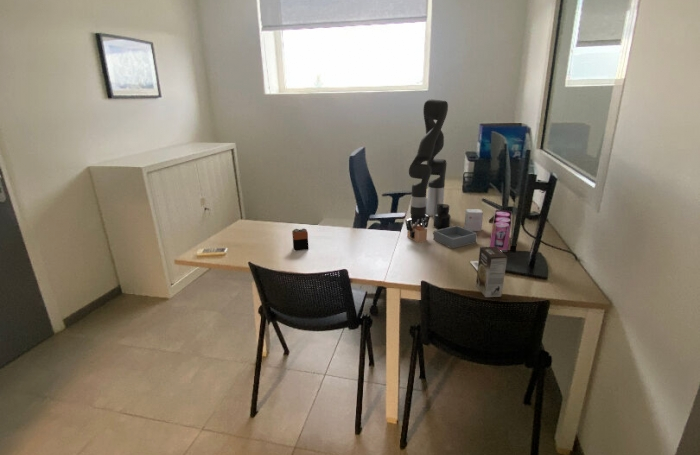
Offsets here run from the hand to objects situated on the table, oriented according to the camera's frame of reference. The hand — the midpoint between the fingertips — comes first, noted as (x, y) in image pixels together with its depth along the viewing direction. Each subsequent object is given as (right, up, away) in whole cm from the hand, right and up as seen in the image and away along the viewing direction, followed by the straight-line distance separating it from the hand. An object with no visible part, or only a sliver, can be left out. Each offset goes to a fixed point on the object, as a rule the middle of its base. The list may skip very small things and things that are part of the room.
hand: (416, 236), depth 191 cm
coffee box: (+18, -19, -50) cm, 56 cm away
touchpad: (+22, -14, -33) cm, 42 cm away
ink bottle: (+16, +5, +17) cm, 24 cm away
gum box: (+39, -3, -7) cm, 40 cm away
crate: (+18, -2, -3) cm, 18 cm away
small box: (+32, +4, +12) cm, 34 cm away
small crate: (0, -1, 0) cm, 1 cm away
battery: (-57, -6, -10) cm, 58 cm away
